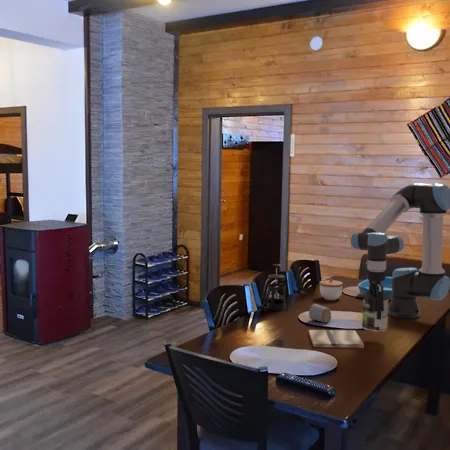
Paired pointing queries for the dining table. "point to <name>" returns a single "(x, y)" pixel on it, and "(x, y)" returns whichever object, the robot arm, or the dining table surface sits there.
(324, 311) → the ceramic mug
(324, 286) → the lidded bowl
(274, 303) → the french press
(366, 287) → the casserole dish
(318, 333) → the plywood board
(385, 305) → the coffee can
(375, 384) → the dining table surface
